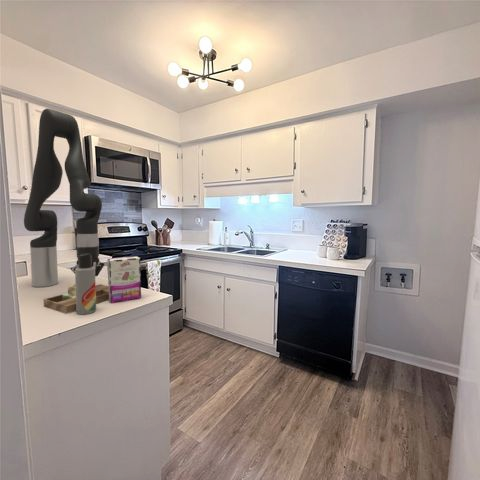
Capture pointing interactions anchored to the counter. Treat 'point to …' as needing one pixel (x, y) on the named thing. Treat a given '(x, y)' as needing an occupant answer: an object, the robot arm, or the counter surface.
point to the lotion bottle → (85, 285)
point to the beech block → (72, 289)
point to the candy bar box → (124, 279)
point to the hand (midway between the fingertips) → (89, 288)
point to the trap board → (74, 300)
